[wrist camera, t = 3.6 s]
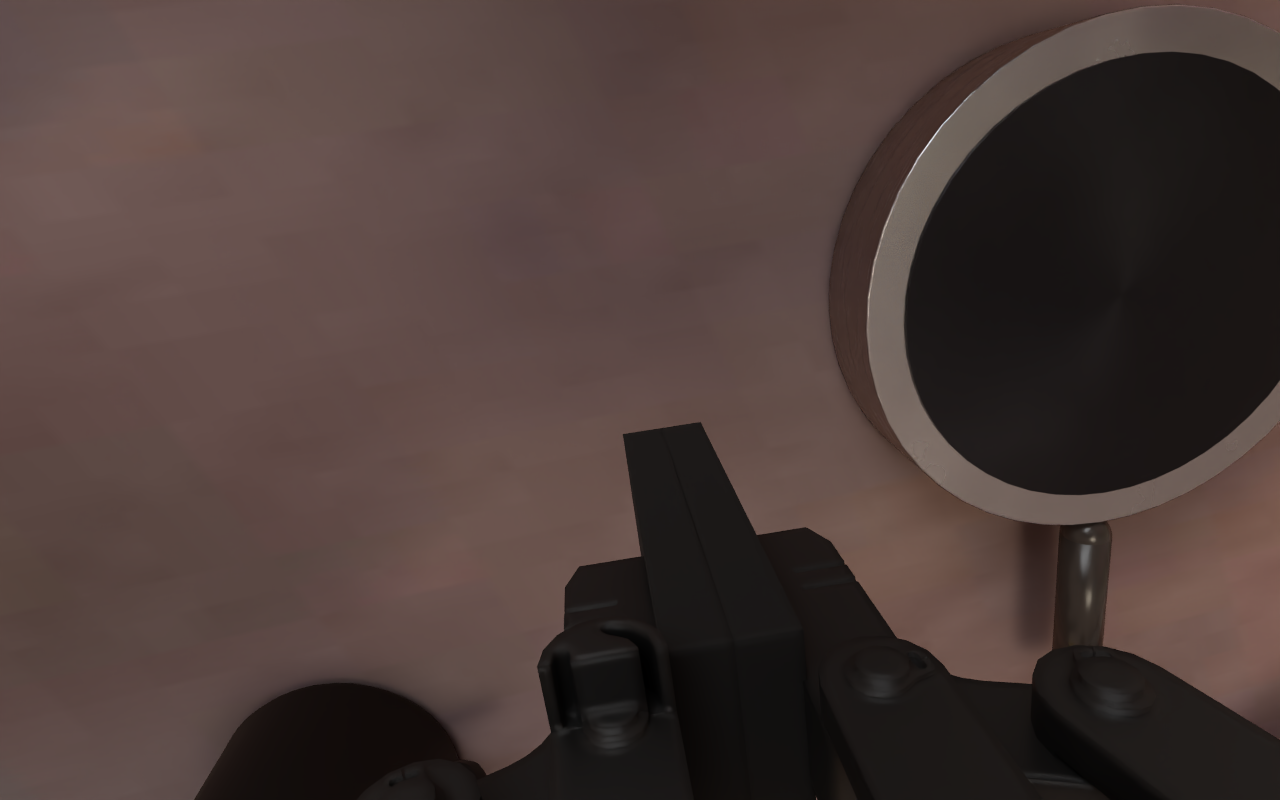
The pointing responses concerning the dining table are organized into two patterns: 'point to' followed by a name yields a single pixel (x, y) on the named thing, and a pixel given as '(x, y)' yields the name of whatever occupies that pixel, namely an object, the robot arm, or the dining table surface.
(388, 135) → the dining table surface
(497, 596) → the dining table surface
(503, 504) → the dining table surface
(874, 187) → the pan
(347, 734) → the mug
